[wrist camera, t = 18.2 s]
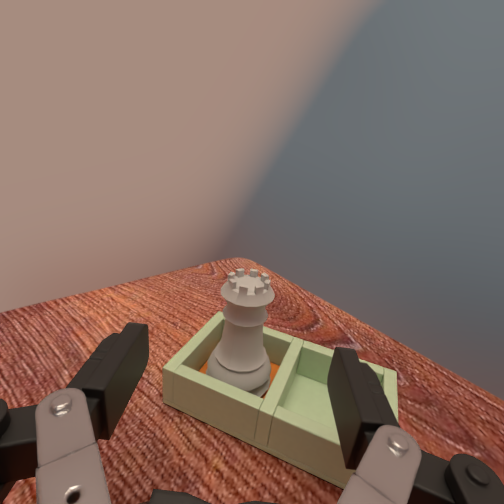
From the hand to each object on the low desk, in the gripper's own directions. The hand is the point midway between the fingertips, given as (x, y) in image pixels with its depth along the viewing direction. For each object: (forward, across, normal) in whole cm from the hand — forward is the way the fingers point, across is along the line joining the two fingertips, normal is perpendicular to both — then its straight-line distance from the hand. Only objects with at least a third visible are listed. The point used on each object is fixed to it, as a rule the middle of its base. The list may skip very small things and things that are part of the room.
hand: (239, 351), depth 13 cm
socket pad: (+5, -3, +8) cm, 10 cm away
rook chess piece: (+6, 0, +8) cm, 9 cm away
